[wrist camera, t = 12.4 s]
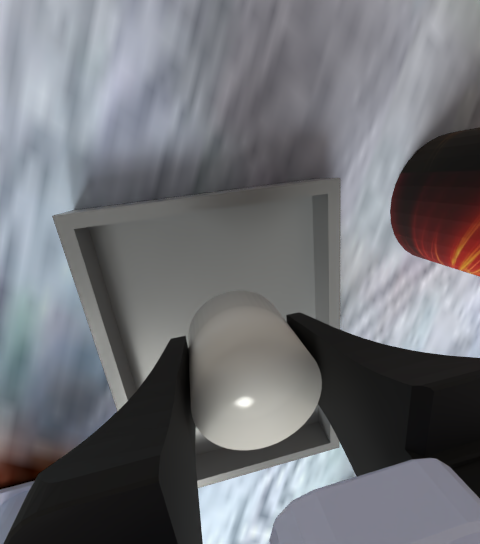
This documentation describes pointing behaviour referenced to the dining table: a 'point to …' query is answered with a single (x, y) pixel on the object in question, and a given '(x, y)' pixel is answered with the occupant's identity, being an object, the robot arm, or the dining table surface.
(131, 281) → the tray
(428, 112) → the dining table surface
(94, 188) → the dining table surface
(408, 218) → the mug
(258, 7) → the dining table surface
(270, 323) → the stone
